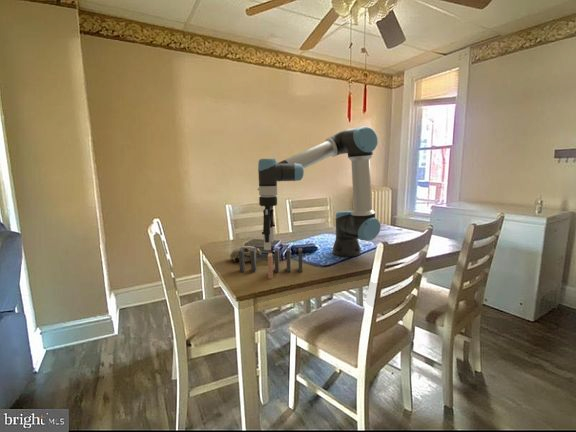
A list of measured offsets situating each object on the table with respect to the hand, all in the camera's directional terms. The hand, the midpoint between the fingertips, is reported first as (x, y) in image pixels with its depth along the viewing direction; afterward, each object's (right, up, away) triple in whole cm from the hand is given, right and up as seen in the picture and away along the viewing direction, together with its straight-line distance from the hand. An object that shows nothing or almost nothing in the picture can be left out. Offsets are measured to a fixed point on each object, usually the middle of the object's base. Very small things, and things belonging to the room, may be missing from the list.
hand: (269, 245), depth 132 cm
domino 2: (-8, -13, +11) cm, 18 cm away
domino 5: (+8, -12, +10) cm, 18 cm away
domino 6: (+14, -12, +10) cm, 21 cm away
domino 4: (+3, -13, +10) cm, 16 cm away
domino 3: (+1, -14, +2) cm, 14 cm away
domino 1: (-13, -13, +11) cm, 21 cm away
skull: (-14, -11, +25) cm, 31 cm away
